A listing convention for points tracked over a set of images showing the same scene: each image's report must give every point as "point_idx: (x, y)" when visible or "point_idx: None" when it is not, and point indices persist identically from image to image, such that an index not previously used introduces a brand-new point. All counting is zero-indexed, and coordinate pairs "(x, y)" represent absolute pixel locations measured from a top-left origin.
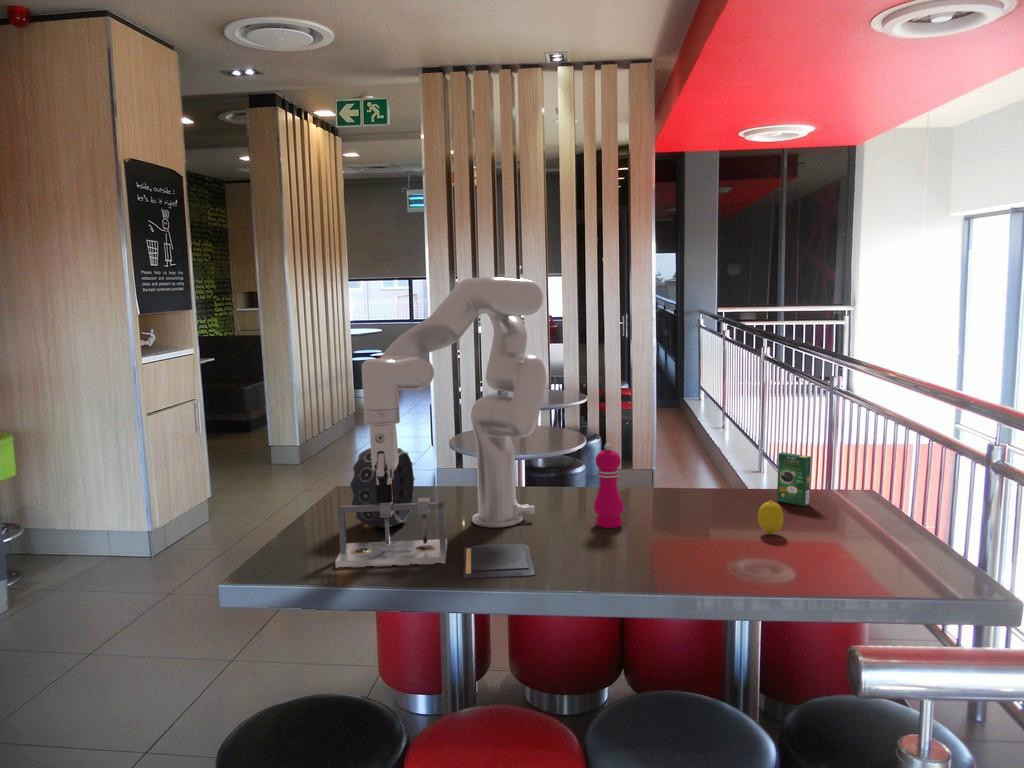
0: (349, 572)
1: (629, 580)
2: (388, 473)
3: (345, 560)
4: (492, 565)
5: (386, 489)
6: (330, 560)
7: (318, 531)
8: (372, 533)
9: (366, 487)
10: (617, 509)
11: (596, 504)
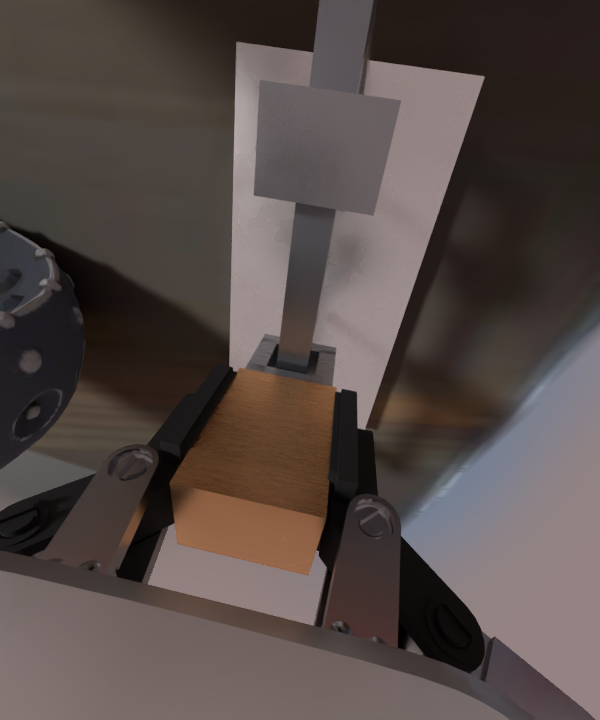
0: (407, 397)
1: None
2: (396, 632)
3: (367, 413)
4: None
5: (376, 484)
6: None
7: (96, 429)
8: (103, 324)
9: (1, 434)
10: None
11: None
